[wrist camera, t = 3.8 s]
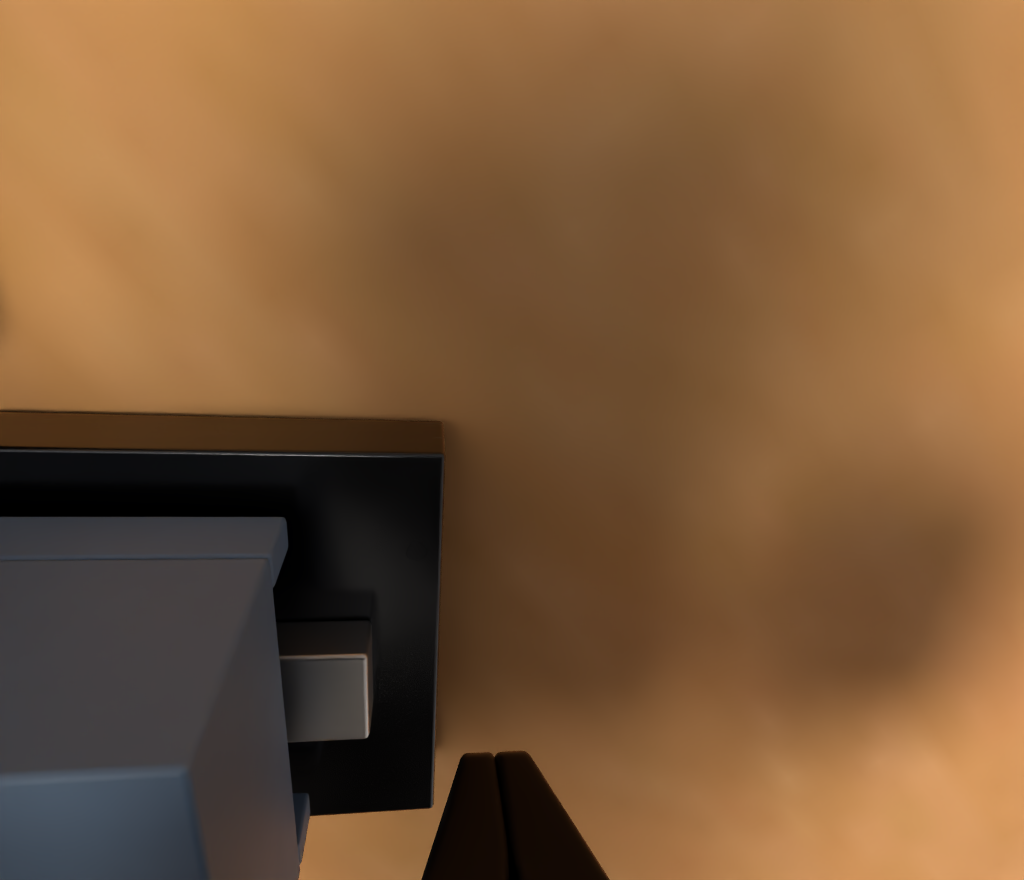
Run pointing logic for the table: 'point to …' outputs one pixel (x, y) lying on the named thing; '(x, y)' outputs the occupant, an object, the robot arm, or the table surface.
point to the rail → (290, 564)
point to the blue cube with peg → (144, 701)
